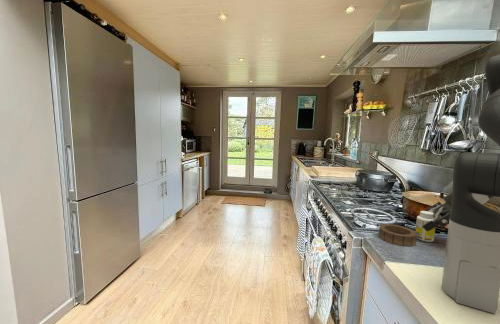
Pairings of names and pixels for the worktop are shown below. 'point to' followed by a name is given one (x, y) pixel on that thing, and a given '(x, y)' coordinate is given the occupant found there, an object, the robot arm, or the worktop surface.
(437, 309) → the worktop surface
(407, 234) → the walnut collar
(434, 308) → the worktop surface
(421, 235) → the supplement bottle
